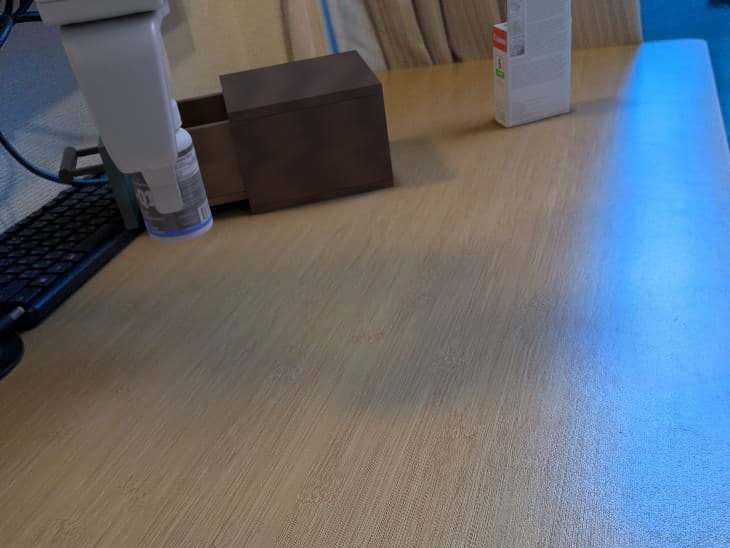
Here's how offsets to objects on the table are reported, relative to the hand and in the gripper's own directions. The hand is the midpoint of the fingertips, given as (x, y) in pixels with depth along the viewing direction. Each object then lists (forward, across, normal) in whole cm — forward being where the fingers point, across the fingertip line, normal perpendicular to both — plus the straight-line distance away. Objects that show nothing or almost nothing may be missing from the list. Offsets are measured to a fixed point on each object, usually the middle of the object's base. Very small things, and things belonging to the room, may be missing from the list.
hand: (170, 192), depth 58 cm
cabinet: (+12, -30, +13) cm, 35 cm away
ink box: (+12, -36, +39) cm, 54 cm away
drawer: (+11, -30, -3) cm, 32 cm away
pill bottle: (+3, 0, 0) cm, 3 cm away
